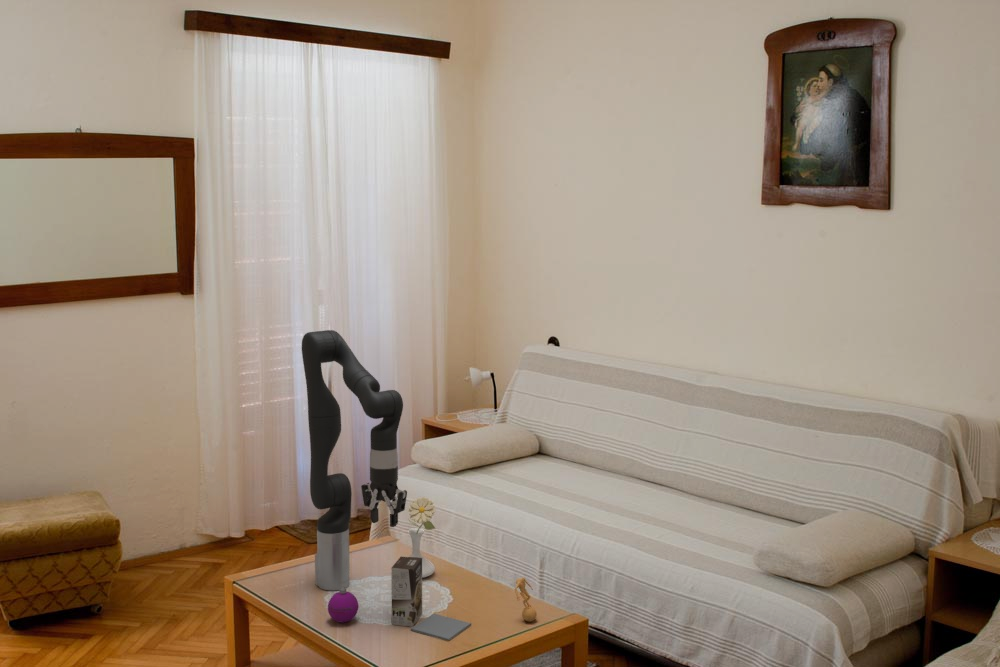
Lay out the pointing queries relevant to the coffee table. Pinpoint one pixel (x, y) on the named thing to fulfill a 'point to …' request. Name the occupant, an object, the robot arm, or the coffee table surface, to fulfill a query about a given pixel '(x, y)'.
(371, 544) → the coffee table surface
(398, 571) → the coffee box
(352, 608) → the christmas ornament
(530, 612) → the figurine
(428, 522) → the flower in vase
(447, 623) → the slate mat
